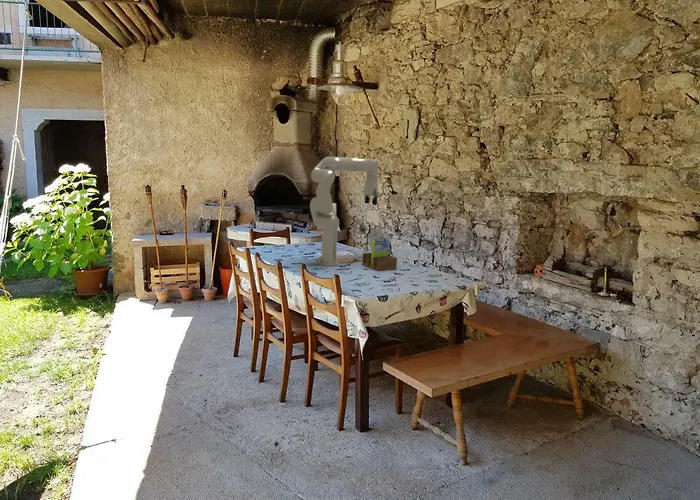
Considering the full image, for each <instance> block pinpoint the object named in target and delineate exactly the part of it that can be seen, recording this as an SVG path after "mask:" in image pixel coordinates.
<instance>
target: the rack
mask: <svg viewBox="0 0 700 500" xmlns="http://www.w3.org/2000/svg"><path fill="white" fill-rule="evenodd" d="M371 255H372V252H365V253H363V252H362V260H361V261H362V262H361V265H362V266H364V267H366V268H368V269H372V270H374V271H376V272H383V271H393V270H397V267H398V266H397V264H398V257H397V256H393V255H388V256H381V257H373V265H371Z"/></svg>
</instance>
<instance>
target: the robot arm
mask: <svg viewBox="0 0 700 500" xmlns="http://www.w3.org/2000/svg"><path fill="white" fill-rule="evenodd" d="M334 171H335V172H366V176H365V177H366V178H365V183H364V189H363V195H364V204H370V197H371V196H372V204H371V205H372V206H376V205H377V206H378V199H379V195H380V192H379V191H378V190H379V189H378V188H379V187H378V185H379V184H378V177H379V160H378V159H373V158H372V159H368V158H357V157H341V156H325V157H323V159H321V161H319V162H318V164H317V165H316V166H315V167H314V168H313V169H312V170H311V173H310V178H311V180H312V181H313V182H315V183H318V185H317V187H316V190H315V193H316V197H313V198H312V199H311V200H310V202H309V209H310V213H311V217H312V220H313V224H314V225H315V226H316V228H319V229H324V230H323V232H322V235H321V255H320V256H319V257H318V258H317V257H315V258H314V259H313V261H314V262H318V264H319V265H321V266H328V267H331V266H333V267H334V266H337V265H339V261H337V250H338V249H337V248H338V247H337V246H338V245H337V244H338V230H339V226H340V219H339V218H338V216H336V215H335V214H331V213H333V211H334V203H333V200H332V199H333V198H332V196H331V187H332V184H333V183H334V181H335V179H336V174H335V172H334Z"/></svg>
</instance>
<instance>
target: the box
mask: <svg viewBox="0 0 700 500" xmlns="http://www.w3.org/2000/svg"><path fill="white" fill-rule="evenodd" d="M389 238H390V237H384V238H383V237H382V238H381V237H380V238H375V240H372V241H371V253H372V255H371V265H373V257H381V256H389V255H388V252H389Z"/></svg>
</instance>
